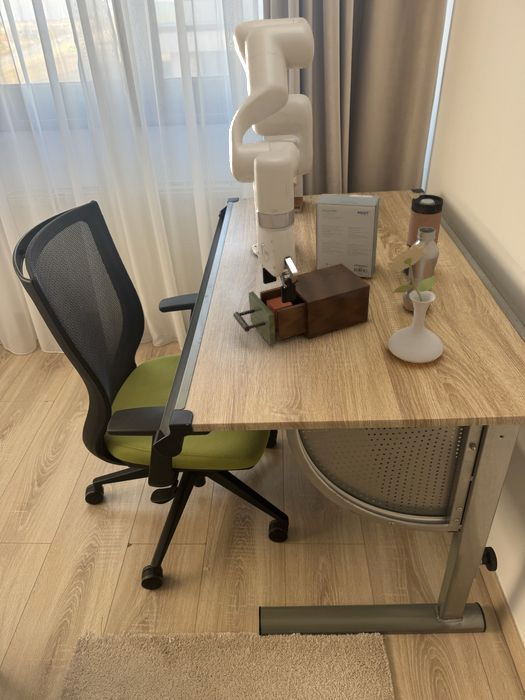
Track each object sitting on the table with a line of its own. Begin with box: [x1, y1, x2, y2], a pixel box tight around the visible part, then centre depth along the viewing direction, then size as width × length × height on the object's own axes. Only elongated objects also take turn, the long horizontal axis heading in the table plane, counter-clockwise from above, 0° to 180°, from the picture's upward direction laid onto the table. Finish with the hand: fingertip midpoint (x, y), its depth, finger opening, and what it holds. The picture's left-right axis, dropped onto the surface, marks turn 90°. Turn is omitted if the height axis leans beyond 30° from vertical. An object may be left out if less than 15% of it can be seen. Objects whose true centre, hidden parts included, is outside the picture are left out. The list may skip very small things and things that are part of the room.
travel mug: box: [404, 194, 444, 276], centre depth 132 cm, size 8×8×20 cm
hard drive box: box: [315, 193, 381, 278], centre depth 136 cm, size 16×8×20 cm, turn 71°
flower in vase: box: [386, 243, 444, 364], centre depth 102 cm, size 13×11×25 cm
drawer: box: [232, 286, 307, 347], centre depth 116 cm, size 19×11×8 cm, turn 113°
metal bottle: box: [402, 227, 440, 313], centre depth 118 cm, size 6×7×20 cm
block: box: [267, 297, 292, 330], centre depth 116 cm, size 4×4×6 cm
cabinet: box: [285, 264, 371, 340], centre depth 120 cm, size 16×13×10 cm
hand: (279, 291), depth 113 cm, fingers open, 9 cm apart
